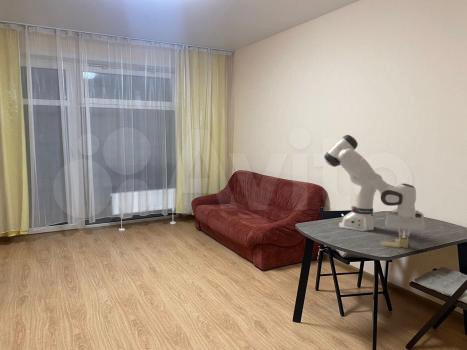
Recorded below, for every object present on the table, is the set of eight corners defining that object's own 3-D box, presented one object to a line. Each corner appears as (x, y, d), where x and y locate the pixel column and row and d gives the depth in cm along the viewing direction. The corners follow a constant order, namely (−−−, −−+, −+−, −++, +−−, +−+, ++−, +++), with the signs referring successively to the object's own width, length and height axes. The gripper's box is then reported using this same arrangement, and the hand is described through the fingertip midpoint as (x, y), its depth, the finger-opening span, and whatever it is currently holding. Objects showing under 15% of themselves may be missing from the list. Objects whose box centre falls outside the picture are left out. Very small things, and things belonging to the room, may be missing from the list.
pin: (401, 244, 197) (402, 230, 196) (400, 243, 199) (402, 229, 198) (405, 244, 196) (406, 230, 195) (404, 243, 198) (405, 229, 197)
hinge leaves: (382, 245, 199) (382, 237, 198) (380, 238, 212) (381, 230, 211) (409, 248, 194) (410, 240, 193) (406, 241, 207) (406, 233, 207)
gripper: (386, 212, 196) (384, 235, 197) (426, 215, 189) (424, 239, 191) (385, 209, 202) (383, 232, 203) (424, 212, 195) (422, 236, 197)
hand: (403, 236), depth 197 cm, fingers closed on pin, 2 cm apart
